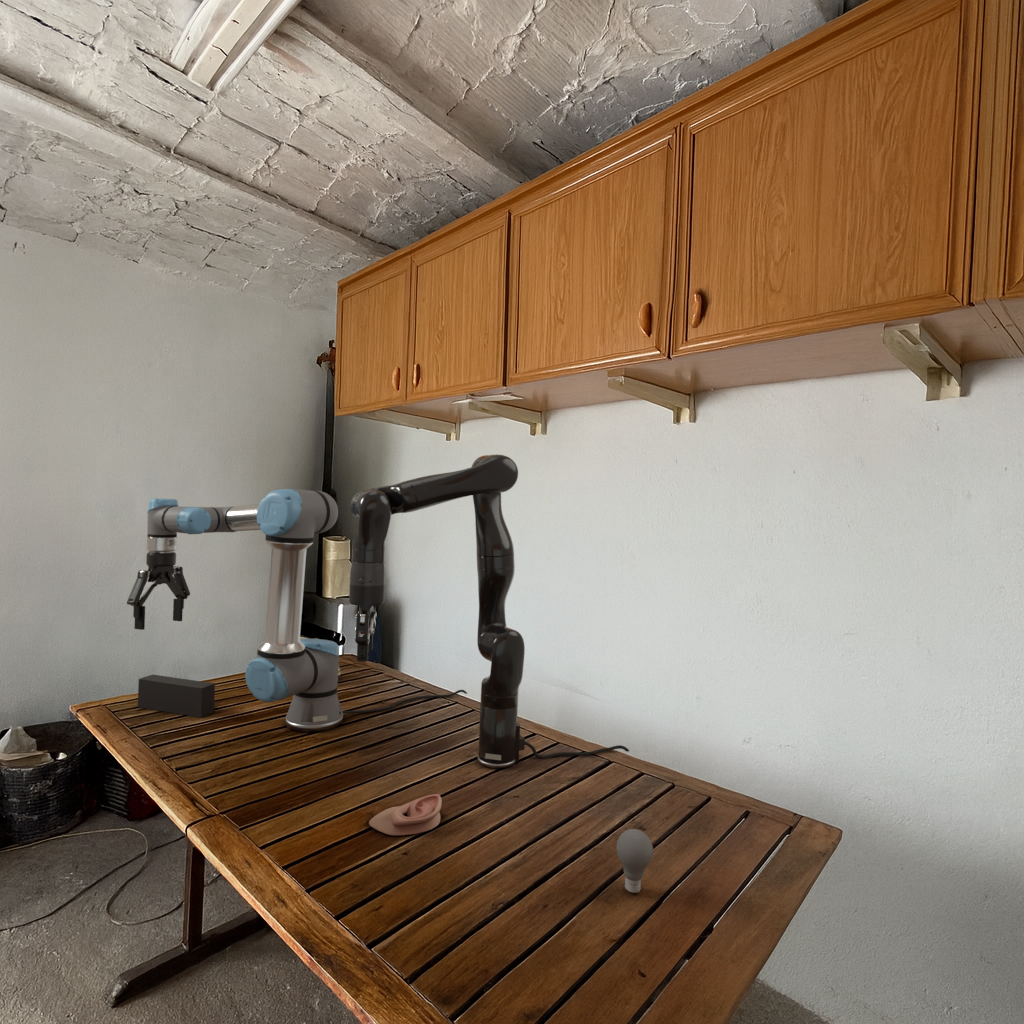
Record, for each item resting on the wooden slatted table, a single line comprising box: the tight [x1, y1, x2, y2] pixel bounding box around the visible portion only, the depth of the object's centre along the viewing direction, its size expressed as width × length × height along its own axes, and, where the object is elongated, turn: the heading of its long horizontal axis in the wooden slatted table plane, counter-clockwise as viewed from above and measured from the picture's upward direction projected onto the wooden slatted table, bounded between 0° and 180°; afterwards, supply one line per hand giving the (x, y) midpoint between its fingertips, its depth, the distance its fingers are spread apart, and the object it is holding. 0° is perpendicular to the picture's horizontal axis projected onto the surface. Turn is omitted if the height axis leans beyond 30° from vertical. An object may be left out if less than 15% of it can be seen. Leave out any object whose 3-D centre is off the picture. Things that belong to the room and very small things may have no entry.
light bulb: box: [615, 828, 654, 894], centre depth 106 cm, size 6×6×10 cm
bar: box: [137, 674, 216, 718], centre depth 182 cm, size 22×5×8 cm, turn 74°
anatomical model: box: [368, 793, 443, 836], centre depth 125 cm, size 13×4×12 cm
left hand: (159, 624), depth 183 cm, fingers open, 13 cm apart
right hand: (364, 656), depth 138 cm, fingers open, 8 cm apart
